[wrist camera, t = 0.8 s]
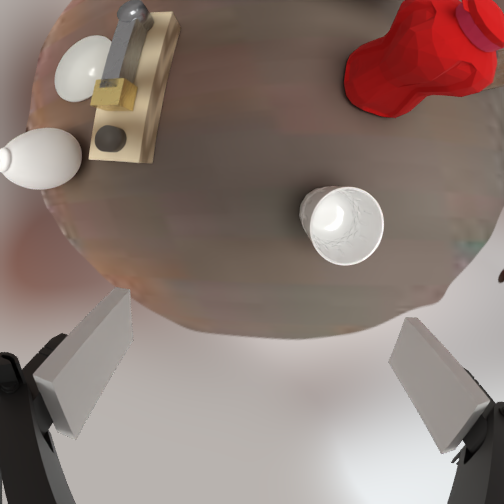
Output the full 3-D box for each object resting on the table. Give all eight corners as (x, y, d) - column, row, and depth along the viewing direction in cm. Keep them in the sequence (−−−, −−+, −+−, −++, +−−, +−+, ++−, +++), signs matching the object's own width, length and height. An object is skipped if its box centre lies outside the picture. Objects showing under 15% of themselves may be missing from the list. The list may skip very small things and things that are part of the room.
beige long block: (135, 29, 30) (115, 7, 22) (180, 27, 30) (167, 2, 23) (106, 160, 35) (78, 159, 28) (152, 163, 35) (130, 162, 28)
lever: (132, 15, 25) (120, 1, 21) (158, 13, 25) (148, -2, 21) (106, 111, 28) (89, 105, 24) (132, 111, 28) (117, 104, 24)
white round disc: (67, 42, 29) (65, 40, 29) (125, 33, 30) (123, 31, 29) (50, 104, 32) (48, 104, 31) (107, 100, 33) (105, 99, 32)
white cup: (297, 245, 38) (312, 270, 29) (291, 185, 36) (306, 190, 27) (353, 238, 38) (384, 260, 29) (350, 180, 36) (382, 184, 26)
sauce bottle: (54, 135, 34) (-33, 130, 16) (95, 128, 34) (8, 113, 16) (53, 186, 36) (-35, 204, 18) (94, 183, 36) (5, 198, 18)
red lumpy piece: (408, 129, 34) (551, 111, 10) (337, 105, 33) (455, 31, 9) (414, 74, 32) (536, 22, 7) (345, 47, 31) (439, -54, 7)
